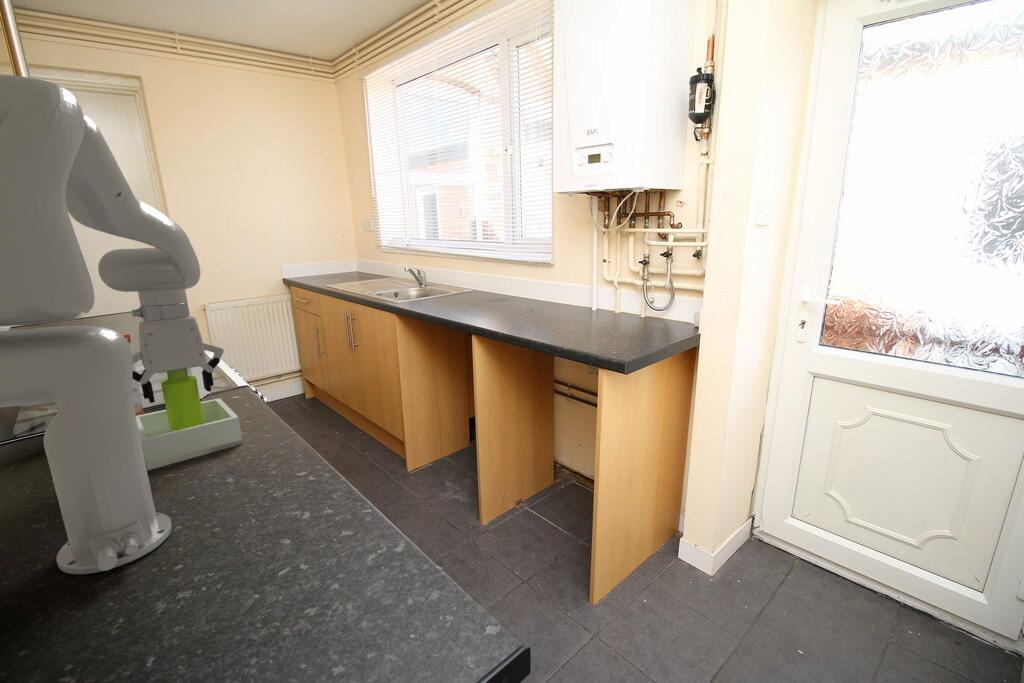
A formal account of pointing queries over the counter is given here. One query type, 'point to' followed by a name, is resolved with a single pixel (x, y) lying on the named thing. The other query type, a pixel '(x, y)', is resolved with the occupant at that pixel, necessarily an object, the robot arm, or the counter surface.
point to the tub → (188, 435)
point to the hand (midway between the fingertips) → (180, 395)
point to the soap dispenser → (182, 400)
